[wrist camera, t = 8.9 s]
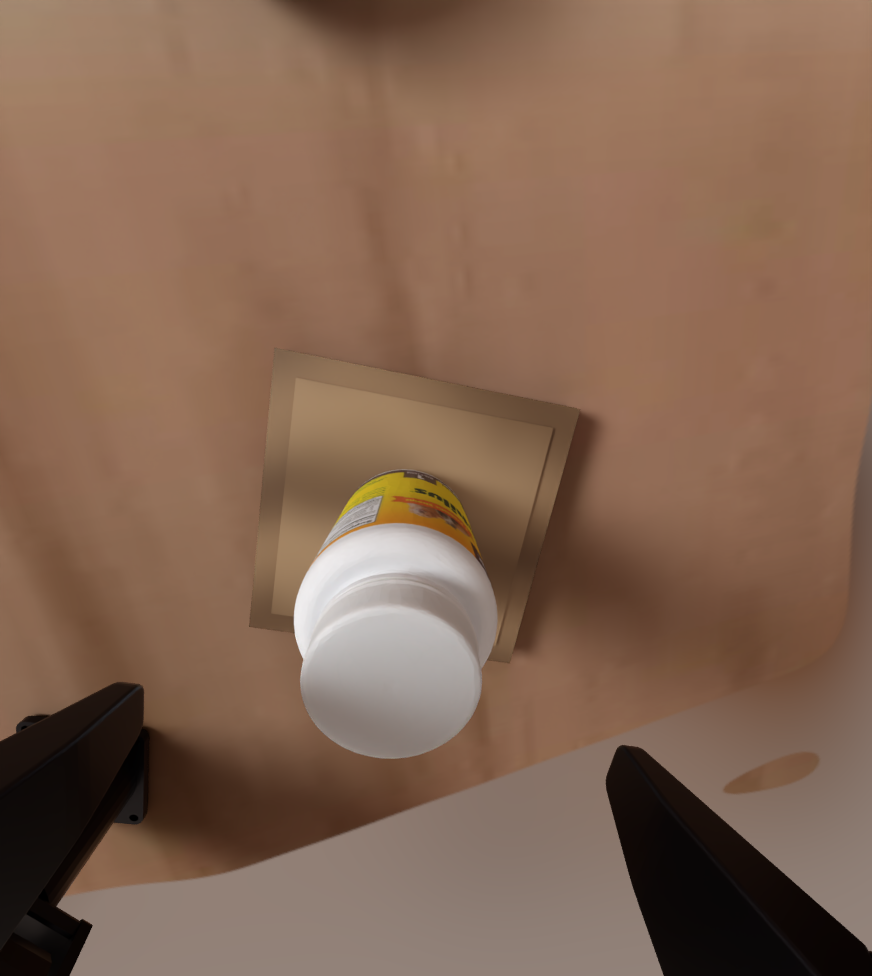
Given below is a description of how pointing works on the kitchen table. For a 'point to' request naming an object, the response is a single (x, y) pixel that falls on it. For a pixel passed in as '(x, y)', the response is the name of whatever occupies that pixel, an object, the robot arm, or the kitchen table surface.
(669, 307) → the kitchen table surface
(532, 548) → the walnut base
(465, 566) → the supplement bottle
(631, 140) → the kitchen table surface
